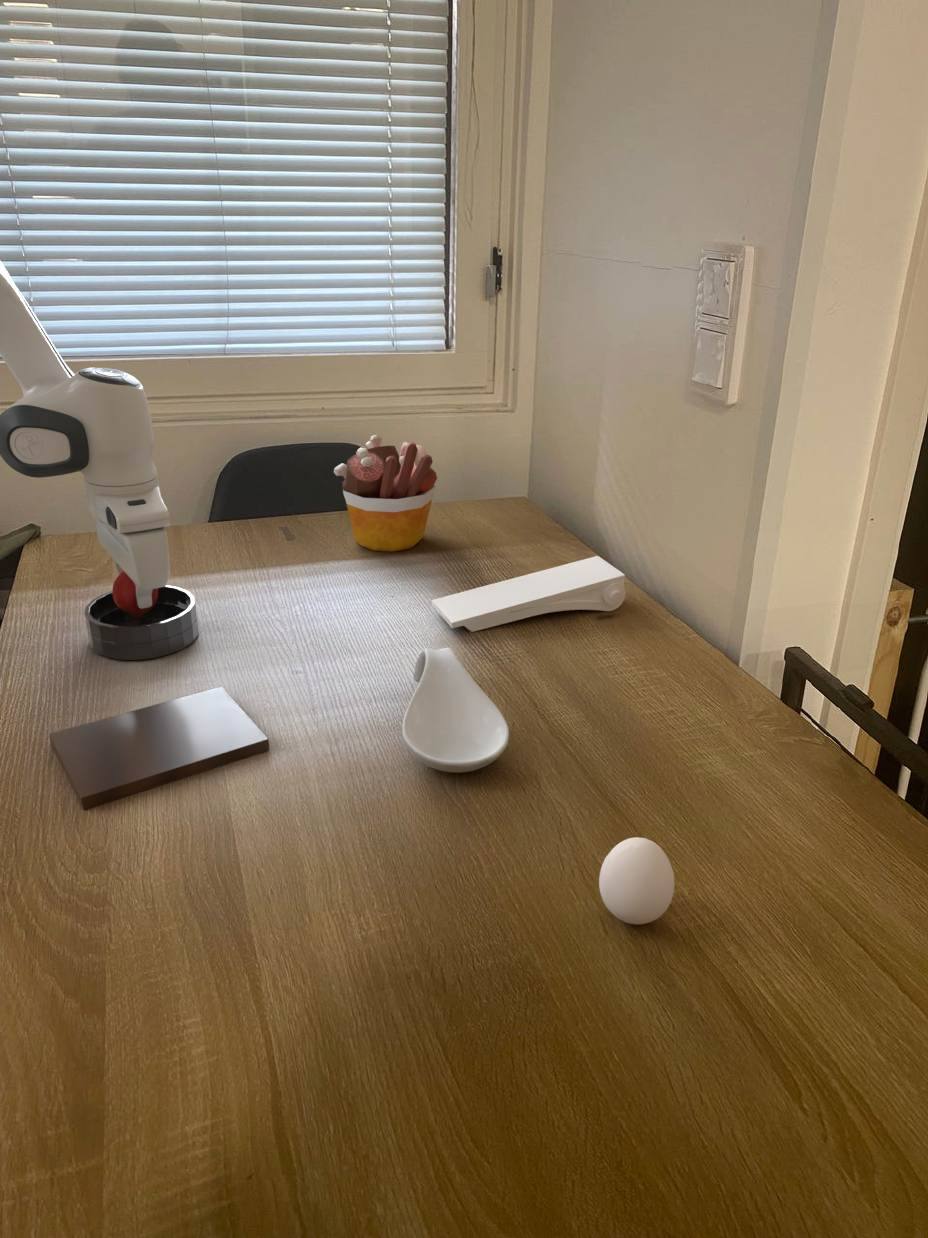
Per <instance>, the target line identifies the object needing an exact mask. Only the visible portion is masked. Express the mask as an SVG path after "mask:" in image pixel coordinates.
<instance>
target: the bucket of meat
mask: <svg viewBox="0 0 928 1238" xmlns="http://www.w3.org/2000/svg"><path fill="white" fill-rule="evenodd" d="M382 440H383V437H382V436H381V435H379V434H374V435H371V436H370V439H369V441H367V442H366V443H365V447H359V448H358V449H357V451H356V453H355V454H353V455H352V456H350V457H349V458H348V459H347V461H346V464H345V463H343V462H342V463H340V464H338V465H337V466H335V467H334V468H333V474H334V475H335V476H336V477H343V479H344V480H343V481H341V483H342V484H341V486H342V494H343V497H344V499H345V504H346V509H347V511H348V515H349V519H350V523H351V528H352V531H353V535H354V539H355V541H356V542H357V544H359V546H361V547H363V548H367V549H369V550H370V551H375V552H399V551H403V550H409V549H412V548H413V547H414V546H415V545H416V544H418V543H419V542H420V541H421V540H422V539H423V537H424V535H425V531H426V526H427V523H428V518H429V515H430V510H431V507H432V506H431V505H432V501H433V498H434V494H435V492H436V487H437V486H436V485H435V484H436V482H437V480H438V475H437V472H436V471H435V470H434V469H433V468H432V467H431V466H432V465H433V463H434V461H433V458H432V456H431V454H430V455H429V454H427V452H426V449H425V448H424V447H423V446H422V445H421V444H417V443H415V442H408V441H404V442H402V445H401V448H400V453H399V452H398V450H397V448H396V446H395V445H382V446H381V443H382Z"/></svg>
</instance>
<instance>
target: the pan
mask: <svg viewBox="0 0 928 1238" xmlns="http://www.w3.org/2000/svg"><path fill="white" fill-rule="evenodd" d="M84 619H85V625H86V631H87V637H88V644H89V646H90V647H91V649H92V650H93V652H94V653H97V654H99V655H101V656H102V657H105V658H110V659H114V660H119V661H120V660H121V661H122V660H123V661H141V660H150V659H155V658H160V657H163V656H168V655H171V654H173V653H175V652H178V651H180V650H183V649H185V648H186V647H187V646H189V645H190V644H192V643H193V642H195V640H196V638H197V637H198V635H199V624H198V615H197V606H196V597H195V596H194V595H193V594H192V593H191V592H190V591H189V590H187V589H185V588H181V587H179V586H174V585H168V584H167V585H166V586H165V587H161V588H158V599H157V601H156V603H155V605H154V606H153V607H152V608H151V609H150V610H149V611H148V612H147V613H145V614H144V615H143V616H141V617H139V618H136V617H133V616H132V615H131V614H129V613H127V612H125V611H123V610H122V609H121V608H119V607H118V606H117V605H116V603H115V602H114V599H113V590H110V591H108V592H105V593H102V594H101V595H99V596H97V597H95V598H93V599H92V600H91V601H89V603H88V604H87V605H86V606H85V609H84Z"/></svg>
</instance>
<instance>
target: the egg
mask: <svg viewBox="0 0 928 1238" xmlns="http://www.w3.org/2000/svg"><path fill="white" fill-rule="evenodd" d="M598 877H599V878H598V881H599V882H598V887H599V893H600V897H601V899H602V903H603V904H604V905H605V907H606V909H607V910H608V911H609V912H610V913H611V914H612V915H613V916H614V917H615V918H616V919H618V920H620V921H622V922H623V923H626V924H630V925H635V926H638V925H646V924H650V923H652V922H654V921H656V920H658V919H659V918H660V917H661V916H663V915H664V913H666V911H667V910H668V909H669V906H670V905H671V904H672V901H673V897H674V893H675V873H674V869H673V867H672V863H671V861H670V859H669V857H668V856H667V854H666V853H665V851H664V850H663V848H662V847H660V846H659V845H658V844H657V843H656V842H654V841H653V840H650V839H648V838H647V837H646V838H645V837H639V836H638V837H637V836H635V837H629V838H626V839H624V840H622V841H621V842H619V843H618V844H616V845H615V846H614V847H613V848H612V849H611V850H610V851H609V853H608V854H607V855H606V856H605V858H604V860H603V863H602V865H601V867H600V871H599V876H598Z"/></svg>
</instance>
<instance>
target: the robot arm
mask: <svg viewBox="0 0 928 1238" xmlns="http://www.w3.org/2000/svg"><path fill="white" fill-rule="evenodd" d="M0 357H1V358H2V360H3V361H4V363H5V364H6V366H7V368H8V369H9V370H10V373H12V375H13V377H14V378H15V380H16V381H17V382H18V383H17V384H19V386H20V388H21V392H22V395H23V397H22V398H20V399H18V400H17V401H15V402H14V403H12V404H11V405H9V406H8V407H7V408H5V410H4V411H2V412H1V414H0V457H1V458H2V460H3V461H4V462H5V463H6V465H8V466H9V467H10V468H11V469H12V470H14V471H15V472H17V473H19V474H21V475H23V476H25V477H30V478H37V479H40V478H51V477H58V476H64V475H69V474H74V473H77V472H79V473H82V474H83V478H84V485H85V492H86V502H87V508H88V514H89V515H90V516H91V517H92V518H94V519H95V526H96V527H95V528H96V533H97V534H96V535H97V539H98V543H99V545H100V546H101V547H102V548H103V550H105V551H106V553H107V554H108V555H109V556H110V557H111V559H113V560H112V561H113V563H114V566H115V570H116V572H117V577H118V576H119V574H120V573H121V572H123V571H124V572H125V573H126V574H127V575H128V576H129V577H130V579H131V580H132V581H133V582H134V584H135V586H136V593H134V594H135V602H136V604H137V605H138V607H139V608H141V609H143V608H148V607H151V606H152V596H151V595H152V590H153V589H156V588H161V587H165V586H166V585H168V583H169V580H170V549H169V547H170V546H169V538H168V533H167V530H166V527H169V526H171V515H170V512H169V509H168V507H167V505H166V504H165V502H164V499H163V497H162V494H161V488H160V486H159V485H160V484H159V475H158V469H157V467H156V465H155V462H154V458H153V450H154V445H155V437H154V428H153V422H152V421H153V420H152V415H151V410H150V405H149V402H148V401H149V400H148V397H147V393H146V392H145V388H144V387H143V385H142V383H141V382H140V380H139V379H137V378H136V377H134V376H133V375H131V374H130V373H128V372H125V371H122V370H118V369H113V368H108V367H85V368H82V369H79V370H77V372H76V373H74V372H73V371H72V370H71V368H70V367H69V366H68V364H67V363H66V362H65V361H64V359H63V358H62V356H61V354H60V353H59V351H58V349H57V348H56V346H55V345H54V343H53V341H52V340H51V338H50V336H49V335H48V333H47V332H46V330H45V328H44V327H43V325H42V323H41V322H40V320H39V318H38V317H37V315H36V314H35V312H34V311H33V309H32V307H31V306H30V305H29V303H28V301H27V300H26V298H25V297H24V296H23V294H22V292H21V290H20V289H19V287H18V286H17V284H16V283H15V282H14V280H13V279H12V277H11V276H10V273H9V271H8V270H7V269H6V268H5V266H4V264H3V262H2V261H1V260H0Z"/></svg>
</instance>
